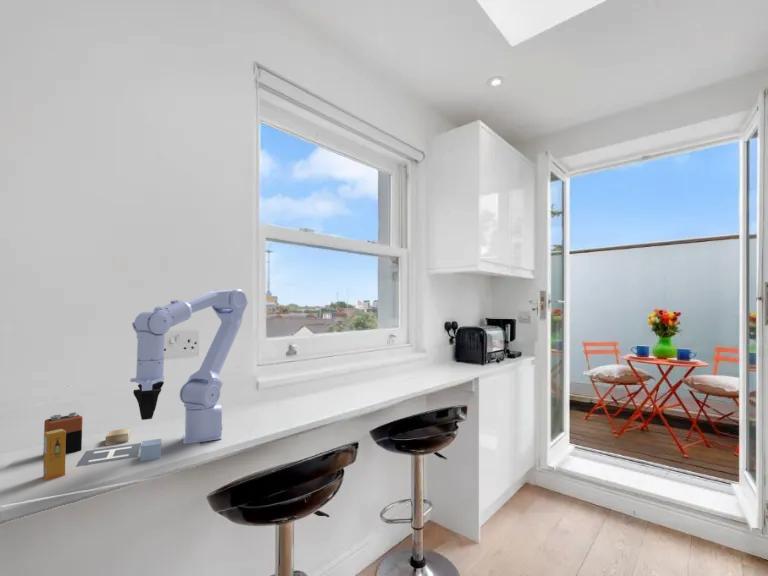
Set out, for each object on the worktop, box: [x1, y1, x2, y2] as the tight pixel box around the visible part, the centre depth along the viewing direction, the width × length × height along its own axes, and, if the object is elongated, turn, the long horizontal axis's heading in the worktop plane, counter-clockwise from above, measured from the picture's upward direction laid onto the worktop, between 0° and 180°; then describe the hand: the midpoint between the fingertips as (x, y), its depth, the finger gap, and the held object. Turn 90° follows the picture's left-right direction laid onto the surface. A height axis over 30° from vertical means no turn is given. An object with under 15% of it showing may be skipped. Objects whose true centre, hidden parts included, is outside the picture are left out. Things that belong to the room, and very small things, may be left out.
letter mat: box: [75, 442, 142, 468], centre depth 95 cm, size 12×11×1 cm
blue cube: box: [139, 438, 162, 462], centre depth 93 cm, size 4×4×4 cm
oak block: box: [104, 427, 131, 446], centre depth 104 cm, size 5×5×3 cm
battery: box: [42, 412, 83, 456], centre depth 96 cm, size 4×7×10 cm, turn 143°
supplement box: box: [42, 429, 66, 481], centre depth 83 cm, size 3×3×10 cm
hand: (148, 415), depth 94 cm, fingers open, 7 cm apart
